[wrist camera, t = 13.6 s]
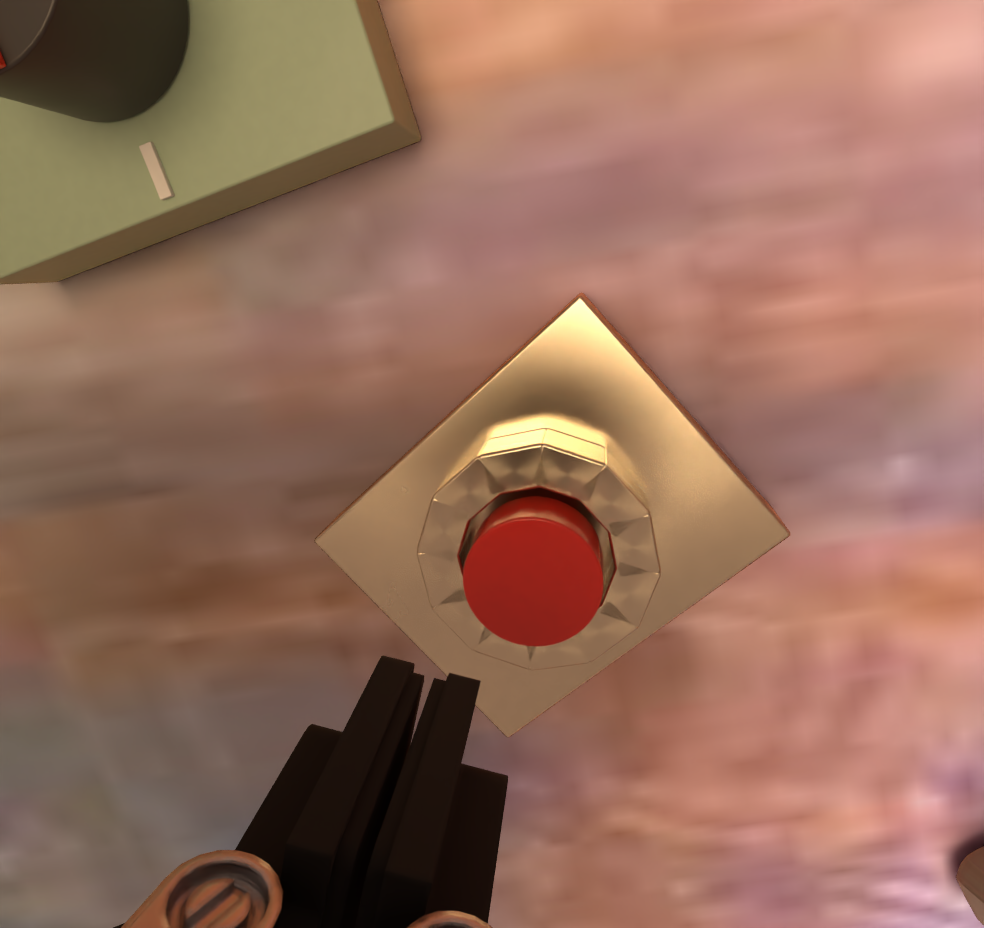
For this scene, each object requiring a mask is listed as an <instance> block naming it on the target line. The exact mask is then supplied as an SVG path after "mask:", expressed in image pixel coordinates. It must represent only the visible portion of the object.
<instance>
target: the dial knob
mask: <svg viewBox="0 0 984 928" xmlns="http://www.w3.org/2000/svg"><path fill="white" fill-rule="evenodd" d="M187 34H188V6H187V0H0V97H3V98H6V99H10V100H14V101H17V102H21V103H24V104H28V105H32V106H35V107H39V108H43V109H46V110H50V111H53V112H57V113H61V114H64V115H68V116H71V117H75V118H79V119H82V120H87V121H93V122H114V121H120V120H124V119H127V118H130V117H133V116H135V115H137V114H139V113H141V112H143V111H144V110H146V109H147V108H148V107H150V106H151V105H153V104H154V103H155V102H156V101H157V100H158V99H159V98H160V97H161V96H162V95H163V94H164V92H165V91H166V90H167V88H168V87H169V86H170V84H171V83H172V81H173V79H174V77H175V76H176V74H177V72H178V69H179V67H180V64H181V62H182V59H183V55H184V51H185V47H186V41H187Z"/></svg>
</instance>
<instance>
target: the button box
mask: <svg viewBox="0 0 984 928" xmlns="http://www.w3.org/2000/svg"><path fill="white" fill-rule="evenodd" d="M531 496H540V497H548V498H552V499H556V500H559V501H561V502H564V503H566V504H568V505H570V506H571V507H573V508H575V509H576V510H577V511H579V512H580V513H581V514H582V515H583V516H584V517H585V518H586V519H587V520H588V521H589V522H590V524H591V525H592V526H593V528H594V530H595V531H596V533H597V535H598V538H599V540H600V544H601V547H602V554H603V595H602V600H601V603H600V606H599V608H598V610H597V612H596V614H595V616H594V617H593V619H592V620H591V621H590V623H589V624H588V625H587V626H586V627H585V628H584V629H583V630H581V631H580V632H579V633H578V634H576V635H575V636H573V637H571V638H569V639H567V640H565V641H563V642H560V643H557V644H553V645H548V646H538V647H537V646H525V645H519V644H515V643H512V642H509V641H507V640H504V639H502V638H500V637H499V636H497V635H495V634H494V633H492V632H491V631H489V630H488V629H487V628H486V627H485V626H484V625H483V624H482V623H481V622H480V621H479V620H478V619H477V618H476V616H475V615H474V613H473V612H472V610H471V608H470V606H469V604H468V602H467V599H466V596H465V593H464V588H463V568H464V564H465V560H466V558H467V555H468V553H469V550H470V548H471V546H472V543H473V541H474V539H475V536H476V534H477V532H478V529H479V528H480V526H481V524H482V523H483V521H484V520H485V519H486V518H487V516H488V515H490V514H491V513H492V512H493V511H494V510H495V509H497V508H498V507H499V506H501V505H503V504H505V503H507V502H509V501H512V500H514V499H518V498H522V497H531ZM789 536H790V531H789V530H788V529H787V527H786V526H785V524H784V523H783V522H782V520H781V519H780V518H779V516H778V515H777V513H776V512H775V511H774V509H773V508H772V507H771V506H770V505H769V503H768V502H767V501H766V500H765V499H764V498H763V497H762V495H761V494H760V493H759V492H758V491H757V490H756V489H755V488H754V486H753V485H752V484H751V483H750V482H749V481H748V480H747V478H746V477H745V476H744V475H743V474H742V473H741V472H740V470H739V469H738V468H737V467H736V466H735V465H734V464H733V463H732V461H731V460H730V459H729V458H728V457H727V456H726V455H725V453H724V452H723V451H722V450H721V449H720V448H719V447H718V445H717V444H716V443H715V442H714V441H713V440H712V439H711V438H710V436H709V435H708V434H707V433H706V432H705V431H704V430H703V428H702V427H701V426H700V425H699V424H698V423H697V422H696V420H695V419H694V418H693V417H692V416H691V415H690V414H689V413H688V411H687V410H686V409H685V408H684V407H683V406H682V405H681V403H680V402H679V401H678V400H677V399H676V398H675V397H674V395H673V394H672V393H671V392H670V391H669V390H668V389H667V387H666V386H665V385H664V384H663V383H662V382H661V381H660V380H659V378H658V377H657V376H656V375H655V374H654V373H653V372H652V370H651V369H650V368H649V367H648V366H647V365H646V364H645V362H644V361H643V360H642V359H641V358H640V357H639V356H638V355H637V353H636V352H635V351H634V350H633V349H632V348H631V347H630V345H629V344H628V343H627V342H626V341H625V340H624V339H623V337H622V336H621V335H620V334H619V333H618V332H617V331H616V330H615V328H614V327H613V326H612V325H611V324H610V323H609V322H608V320H607V319H606V318H605V317H604V316H603V315H602V314H601V312H600V311H599V310H598V309H597V308H596V307H595V306H594V304H593V303H592V302H591V301H590V300H589V299H588V298H587V297H586V295H585V294H584V293H579V294H578V295H577V296H576V297H575V298H574V299H573V300H572V301H571V302H570V303H568V304H567V305H566V306H565V307H564V308H563V309H562V310H561V311H560V312H559V313H558V314H556V315H555V316H554V317H553V318H552V319H551V320H550V321H549V322H548V323H547V324H546V325H545V326H543V327H542V328H541V329H540V330H539V331H538V332H537V333H536V334H535V335H534V336H533V337H531V338H530V339H529V340H528V341H527V342H526V343H525V344H524V345H523V346H522V347H521V348H520V349H518V350H517V351H516V352H515V353H514V354H513V355H512V356H511V357H510V358H509V359H508V360H507V361H505V362H504V363H503V364H502V365H501V366H500V367H499V368H498V369H497V370H496V371H495V372H493V373H492V374H491V375H490V376H489V377H488V378H487V379H486V380H485V381H484V382H483V383H482V384H480V385H479V386H478V387H477V388H476V389H475V390H474V391H473V392H472V393H471V394H470V395H468V396H467V397H466V398H465V399H464V400H463V401H462V402H461V403H460V404H459V405H458V406H457V407H455V408H454V409H453V410H452V411H451V412H450V413H449V414H448V415H447V416H446V417H445V418H443V419H442V420H441V421H440V422H439V423H438V424H437V425H436V426H435V427H434V428H433V429H432V430H430V431H429V432H428V433H427V434H426V435H425V436H424V437H423V438H422V439H421V440H420V441H419V442H417V443H416V444H415V445H414V446H413V447H412V448H411V449H410V450H409V451H408V452H407V453H405V454H404V455H403V456H402V457H401V458H400V459H399V460H398V461H397V462H396V463H395V464H394V465H392V466H391V467H390V468H389V469H388V470H387V471H386V472H385V473H384V474H383V475H382V476H380V477H379V478H378V479H377V480H376V481H375V482H374V483H373V484H372V485H371V486H370V487H369V488H367V489H366V490H365V491H364V492H363V493H362V494H361V495H360V496H359V497H358V498H357V499H356V500H354V501H353V502H352V503H351V504H350V505H349V506H348V507H347V508H346V509H345V510H344V511H342V512H341V513H340V514H339V515H338V516H337V517H336V518H335V519H334V520H333V521H332V522H331V523H330V524H329V525H328V526H327V527H326V528H325V529H324V530H323V531H322V532H321V533H320V534H319V535H318V536H317V537H316V538H315V540H314V541H315V543H316V544H317V545H318V546H319V547H320V548H321V549H322V550H323V551H324V552H325V553H326V554H327V555H328V556H329V557H330V558H331V559H332V560H333V561H334V562H335V563H336V564H337V565H338V566H339V567H340V568H341V569H342V570H343V571H344V572H345V573H346V575H347V576H348V577H349V578H350V579H351V580H352V581H353V582H354V583H355V584H356V585H357V586H358V587H359V588H360V589H361V590H362V591H363V592H364V593H365V594H366V595H367V596H368V597H369V598H370V599H371V600H372V601H373V602H374V603H375V604H376V605H377V606H378V607H379V608H380V609H381V610H382V611H383V612H384V613H385V614H386V615H387V616H388V617H389V618H390V619H391V620H392V621H393V622H394V623H395V624H396V625H397V626H398V627H399V628H400V629H401V630H402V631H403V632H404V633H405V634H406V635H407V636H408V637H409V638H410V639H411V641H412V642H413V643H414V644H415V645H416V646H417V647H418V648H419V649H420V650H421V651H422V652H423V653H424V654H425V655H426V656H427V657H428V658H429V659H430V660H431V661H432V662H433V663H434V664H435V665H436V666H437V667H438V668H439V669H440V670H441V671H442V672H443V673H444V674H445V675H446V676H447V677H448V674H449V673H453V674H457V675H461V676H464V677H468V678H472V679H476V680H480V681H481V682H480V687H479V691H478V695H477V699H476V703H475V706H476V707H477V708H478V709H479V710H480V711H481V712H482V713H483V714H484V715H485V716H486V717H487V718H488V719H489V720H490V721H491V722H492V723H493V724H494V725H495V726H496V727H497V728H498V729H499V730H500V731H501V732H502V733H503V734H504V735H505V736H506V737H510V736H512V735H513V734H514V733H516V732H517V731H519V730H520V729H521V728H523V727H524V726H526V725H527V724H528V723H530V722H531V721H533V720H534V719H535V718H537V717H538V716H539V715H541V714H542V713H544V712H545V711H546V710H548V709H549V708H551V707H552V706H553V705H555V704H556V703H558V702H559V701H560V700H562V699H563V698H565V697H566V696H567V695H569V694H570V693H572V692H573V691H574V690H576V689H577V688H579V687H580V686H581V685H583V684H584V683H585V682H587V681H588V680H590V679H591V678H592V677H594V676H595V675H597V674H598V673H599V672H601V671H602V670H604V669H605V668H606V667H608V666H609V665H611V664H612V663H613V662H615V661H616V660H618V659H619V658H620V657H622V656H623V655H624V654H626V653H627V652H629V651H630V650H631V649H633V648H634V647H636V646H637V645H638V644H640V643H641V642H643V641H644V640H645V639H647V638H648V637H650V636H651V635H652V634H654V633H655V632H657V631H658V630H659V629H661V628H662V627H664V626H665V625H666V624H668V623H669V622H670V621H672V620H673V619H675V618H676V617H677V616H679V615H680V614H682V613H683V612H684V611H686V610H687V609H689V608H690V607H691V606H693V605H694V604H696V603H697V602H698V601H700V600H701V599H703V598H704V597H705V596H707V595H708V594H709V593H711V592H712V591H714V590H715V589H716V588H718V587H719V586H721V585H722V584H723V583H725V582H726V581H728V580H729V579H730V578H732V577H733V576H735V575H736V574H737V573H739V572H740V571H742V570H743V569H744V568H746V567H747V566H749V565H750V564H751V563H753V562H754V561H755V560H757V559H758V558H760V557H761V556H762V555H764V554H765V553H767V552H768V551H769V550H771V549H772V548H774V547H775V546H776V545H778V544H779V543H781V542H782V541H783V540H785V539H786V538H788V537H789Z"/></svg>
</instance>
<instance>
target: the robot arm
mask: <svg viewBox="0 0 984 928" xmlns="http://www.w3.org/2000/svg"><path fill="white" fill-rule="evenodd" d="M413 672H414V663H410V662H406V661H402V660H398V659H395V658H391V657H387V656H381V658H380V660H379V662H378V664H377V666H376V668H375V670H374V671H373V673H372V675H371V677H370V679H369V681H368V683H367V685H366V687H365V689H364V691H363V693H362V695H361V697H360V699H359V701H358V703H357V705H356V707H355V709H354V711H353V713H352V715H351V717H350V719H349V721H348V723H347V725H346V727H345V729H344V731H343V732H340V731H336V730H333V729H329V728H325V727H321V726H317V725H314V724H311V725H310V726H308V728H307V729H306V731H305V732H304V734H303V735H302V737H301V739H300V741H299V742H298V744H297V746H296V747H295V749H294V751H293V752H292V754H291V756H290V757H289V759H288V761H287V763H286V764H285V766H284V768H283V769H282V771H281V773H280V774H279V776H278V778H277V780H276V781H275V783H274V785H273V786H272V788H271V790H270V791H269V793H268V795H267V796H266V798H265V800H264V802H263V803H262V805H261V807H260V808H259V810H258V812H257V813H256V815H255V817H254V819H253V820H252V822H251V824H250V825H249V827H248V829H247V830H246V832H245V834H244V836H243V837H242V839H241V841H240V842H239V844H238V846H237V847H236V849H235V850H217V851H213V852H209V853H205V854H201V855H198V856H196V857H194V858H192V859H190V860H188V861H186V862H184V863H182V864H181V865H180V866H178V867H177V868H176V869H175V870H174V871H173V872H171V873H170V874H169V875H168V876H167V877H166V878H165V879H164V880H163V881H162V882H161V883H160V885H159V886H158V887H157V888H156V889H155V890H154V891H153V892H152V894H151V895H150V896H149V897H148V898H147V899H146V900H145V901H144V903H143V904H142V905H141V906H140V907H139V908H138V909H137V910H136V911H135V913H134V914H133V915H132V916H131V917H130V918H129V919H128V920H127V922H126V923H124V924H121V925H119V926H116V927H114V928H492V927H491V926H490V925H489V924H488V917H489V910H490V903H491V896H492V889H493V882H494V875H495V868H496V861H497V854H498V847H499V840H500V833H501V826H502V819H503V812H504V805H505V798H506V791H507V783H508V776H507V775H503V774H499V773H495V772H491V771H488V770H484V769H480V768H476V767H473V766H469V765H465V764H461V762H462V758H463V753H464V749H465V745H466V741H467V737H468V733H469V728H470V724H471V720H472V716H473V712H474V707H475V703H476V699H477V695H478V691H479V687H480V682H481V681H480V680H476V679H472V678H468V677H464V676H461V675H457V674H453V673H449V674H448V677H447V680H446V681H443V680H439V679H436V678H434V680H433V683H432V686H431V688H430V691H429V694H428V697H427V700H426V703H425V705H424V708H423V711H422V714H421V717H420V719H419V722H418V725H417V728H416V731H415V734H414V736H413V739H412V734H413V730H414V725H415V720H416V715H417V711H418V706H419V701H420V697H421V692H422V687H423V682H424V675H420V674H416V673H413ZM411 739H412V742H411ZM410 744H411V745H410Z"/></svg>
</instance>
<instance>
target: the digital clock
mask: <svg viewBox="0 0 984 928" xmlns="http://www.w3.org/2000/svg"><path fill="white" fill-rule="evenodd" d="M956 879H957V881H958V883H959V885H960V887H961V889H962V891H963V894H964V896H965V898H966V899H967V901H968V903H969V905H970V907H971V909H972V910H973V912H974V914H975V916H976V917H977V919H978V920H979V921H980V922H981V923H982V924H983V925H984V847H981V848H979V849H977V850H975V851H973V852H972V853H970V854H968V855H967V856H966V857H965V859H964V860H963V861H962V862H961V864H960V867H959V869H958V872H957V875H956Z"/></svg>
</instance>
